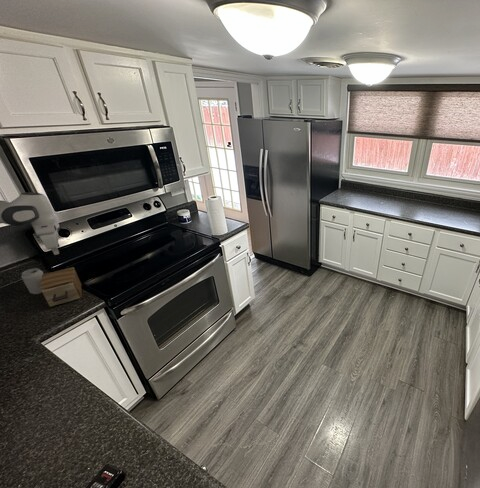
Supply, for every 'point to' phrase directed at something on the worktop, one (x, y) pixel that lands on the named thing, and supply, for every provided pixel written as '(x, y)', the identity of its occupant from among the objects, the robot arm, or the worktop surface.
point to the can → (32, 280)
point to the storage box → (61, 279)
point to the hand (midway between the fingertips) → (57, 250)
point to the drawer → (60, 293)
